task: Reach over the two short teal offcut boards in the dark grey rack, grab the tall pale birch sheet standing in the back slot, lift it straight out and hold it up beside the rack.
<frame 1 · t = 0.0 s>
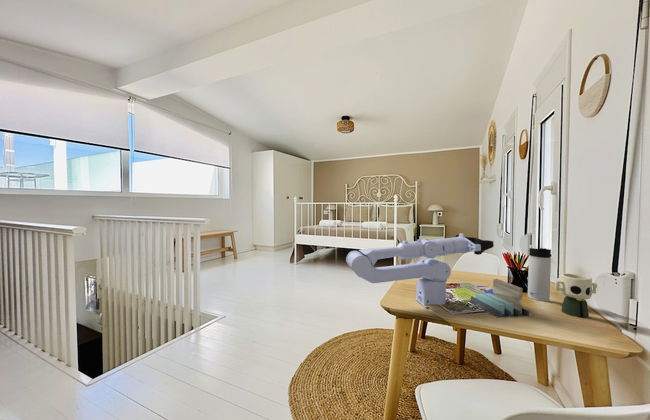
hand: (484, 242, 93), 22 cm above the table, tool horizontal, fingers open, 7 cm apart
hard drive: (492, 295, 102), on the table
character mug: (574, 317, 82), on the table
birch sheet: (506, 307, 86), point 1 cm above the table, touching rack
travel mug: (538, 301, 95), on the table
offcut 1: (489, 307, 85), point 1 cm above the table, touching rack
rack: (497, 310, 86), on the table
offcut 2: (497, 307, 86), point 1 cm above the table, touching rack
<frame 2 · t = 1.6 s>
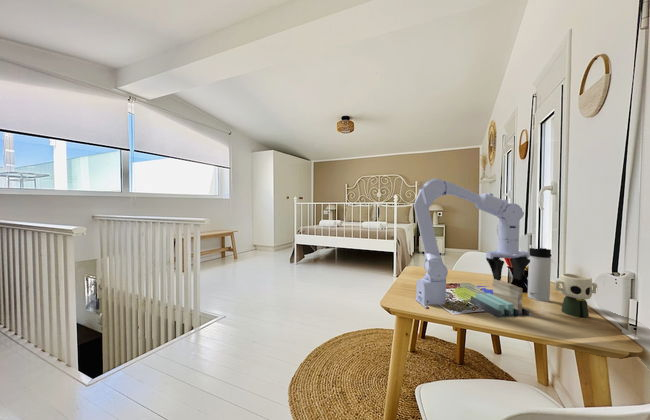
hand: (507, 279, 86), 10 cm above the table, tool pointing down, fingers open, 7 cm apart
nothing on the table moved.
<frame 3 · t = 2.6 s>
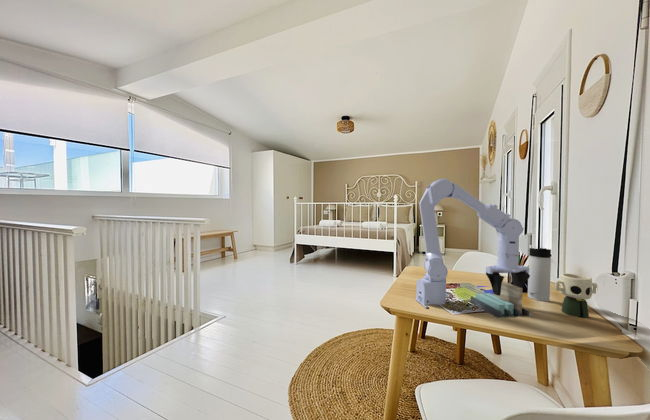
hand: (506, 294, 86), 5 cm above the table, tool pointing down, fingers open, 7 cm apart
nothing on the table moved.
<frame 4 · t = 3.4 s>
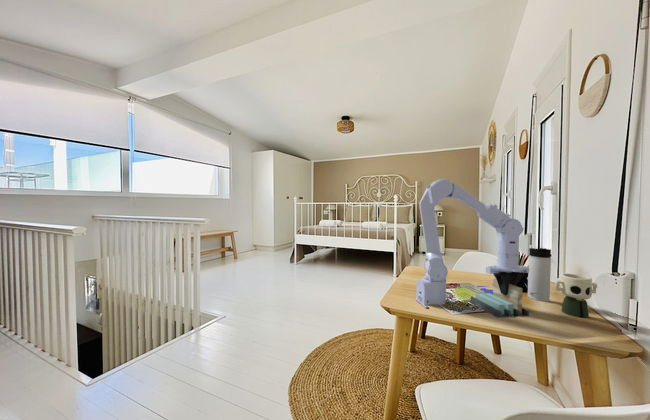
hand: (506, 294, 86), 5 cm above the table, tool pointing down, fingers closed on birch sheet, 2 cm apart
birch sheet: (506, 307, 86), point 1 cm above the table, touching gripper, rack
everything else where it was.
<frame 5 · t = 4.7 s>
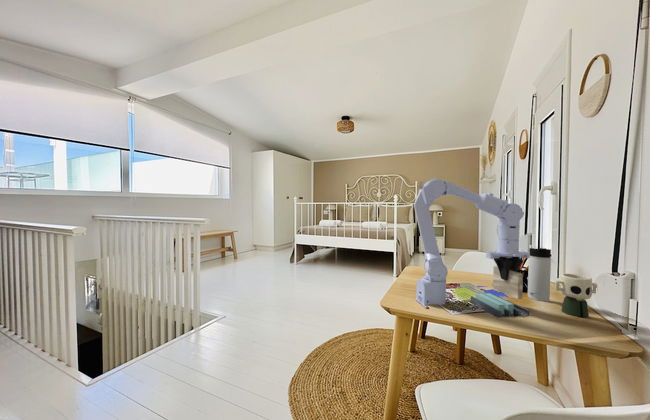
hand: (507, 279, 86), 10 cm above the table, tool pointing down, fingers closed on birch sheet
birch sheet: (506, 293, 86), point 6 cm above the table, touching gripper
everything else where it was.
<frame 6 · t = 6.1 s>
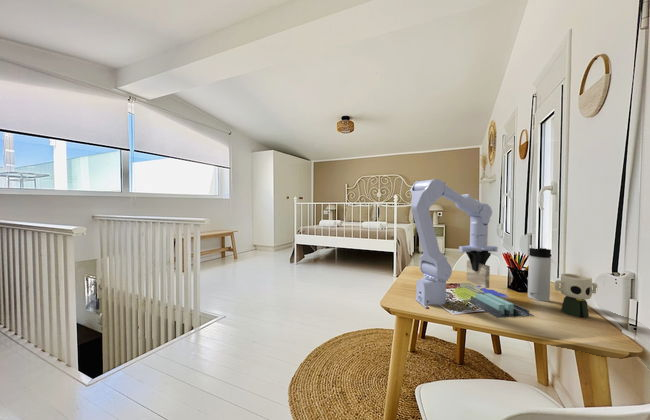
hand: (477, 270, 97), 10 cm above the table, tool pointing down, fingers closed on birch sheet
birch sheet: (477, 284, 97), point 5 cm above the table, touching gripper
everything else where it was.
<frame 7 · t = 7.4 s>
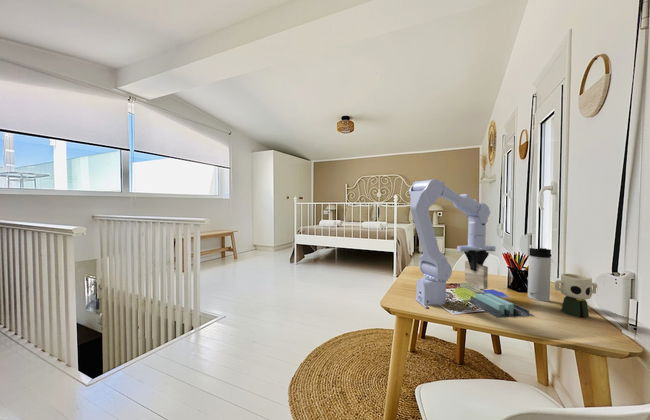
hand: (475, 270, 98), 10 cm above the table, tool pointing down, fingers closed on birch sheet
birch sheet: (475, 284, 98), point 5 cm above the table, touching gripper
everything else where it was.
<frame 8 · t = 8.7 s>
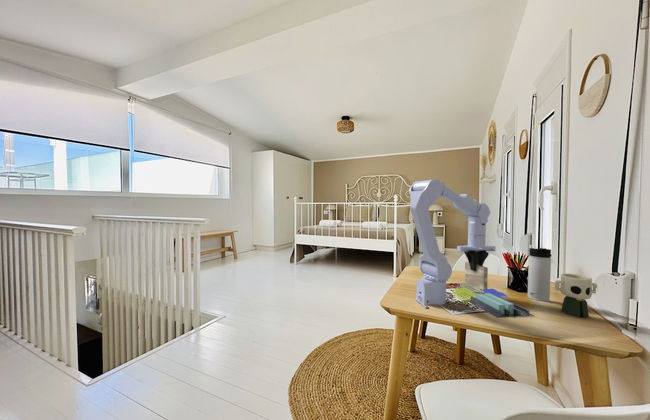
hand: (475, 270, 98), 10 cm above the table, tool pointing down, fingers closed on birch sheet
birch sheet: (475, 285, 98), point 4 cm above the table, touching gripper
everything else where it was.
at the end: the gripper is holding birch sheet; birch sheet point 4.5 cm above the table; offcut 2 moved 0.0 cm from its start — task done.
